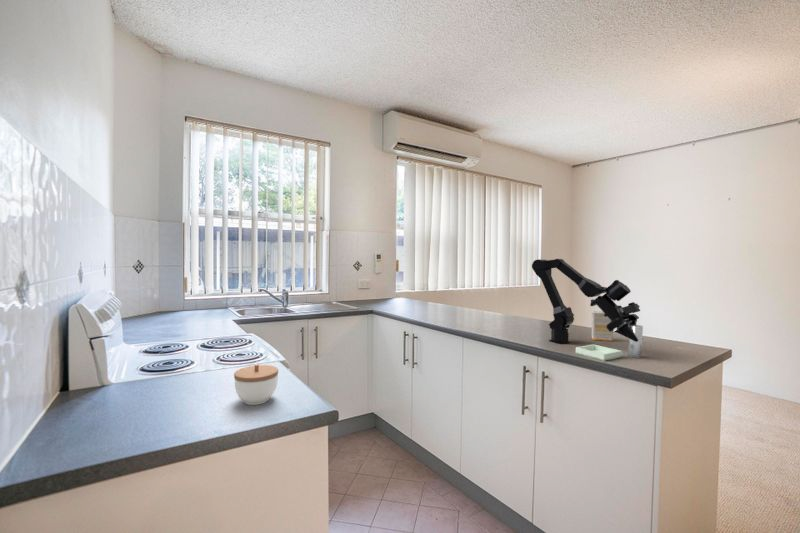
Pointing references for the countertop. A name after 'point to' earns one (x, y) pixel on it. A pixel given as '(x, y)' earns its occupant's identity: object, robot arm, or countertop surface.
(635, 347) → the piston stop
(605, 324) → the supplement box
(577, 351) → the tray
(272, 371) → the lidded jar
